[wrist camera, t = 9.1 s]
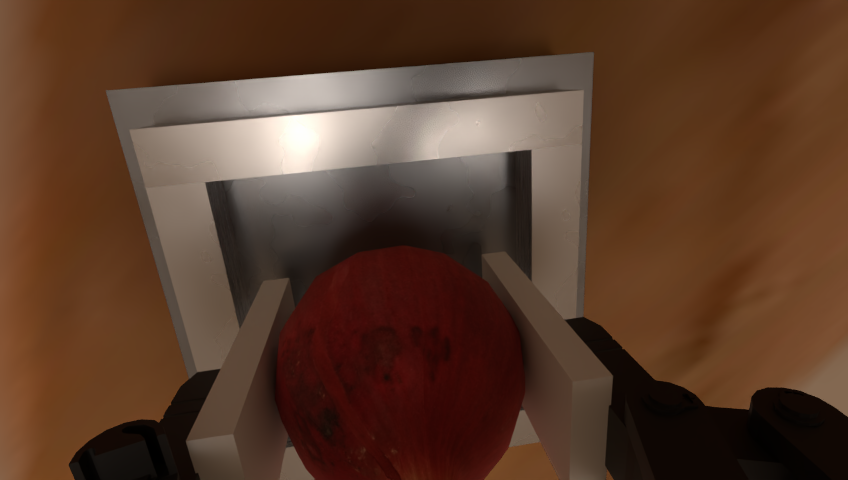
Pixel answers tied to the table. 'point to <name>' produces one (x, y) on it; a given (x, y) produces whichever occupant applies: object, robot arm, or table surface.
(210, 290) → the silver shallow square tray
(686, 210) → the table surface
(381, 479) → the onion
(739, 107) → the table surface
